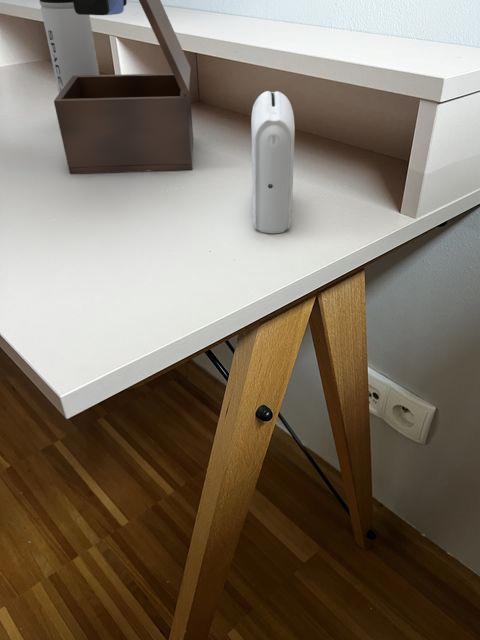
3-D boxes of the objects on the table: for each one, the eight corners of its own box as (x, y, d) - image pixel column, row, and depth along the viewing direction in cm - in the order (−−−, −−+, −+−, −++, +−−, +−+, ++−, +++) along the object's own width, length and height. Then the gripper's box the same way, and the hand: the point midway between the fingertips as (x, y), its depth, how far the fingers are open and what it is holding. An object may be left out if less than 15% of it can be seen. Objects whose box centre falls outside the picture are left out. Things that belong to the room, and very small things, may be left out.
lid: (108, -64, 57) (159, -91, 56) (122, -68, 66) (166, -92, 65) (183, 95, 66) (227, 74, 65) (185, 70, 76) (224, 52, 75)
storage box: (69, 173, 71) (53, 100, 66) (85, 141, 81) (72, 75, 75) (192, 170, 72) (186, 97, 67) (193, 138, 82) (188, 73, 76)
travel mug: (106, 118, 90) (81, -32, 77) (108, 130, 85) (82, -28, 72) (66, 121, 88) (34, -31, 76) (66, 134, 83) (31, -27, 71)
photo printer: (293, 234, 58) (297, 110, 50) (251, 234, 58) (250, 109, 50) (289, 194, 66) (292, 81, 58) (252, 194, 66) (251, 81, 58)
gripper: (58, -239, 50) (94, -3, 62) (-40, -289, 37) (28, 23, 49) (139, -239, 50) (160, -1, 61) (69, -290, 37) (112, 26, 48)
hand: (101, 7), depth 55 cm, fingers closed on decorative dice, 4 cm apart
